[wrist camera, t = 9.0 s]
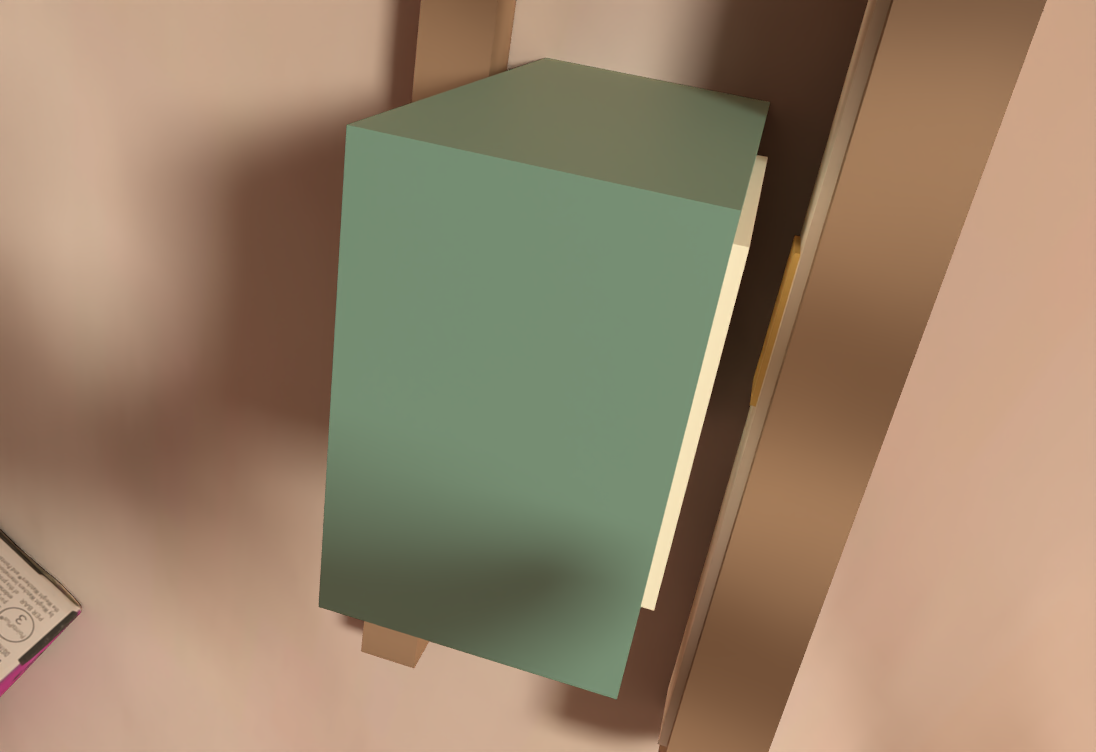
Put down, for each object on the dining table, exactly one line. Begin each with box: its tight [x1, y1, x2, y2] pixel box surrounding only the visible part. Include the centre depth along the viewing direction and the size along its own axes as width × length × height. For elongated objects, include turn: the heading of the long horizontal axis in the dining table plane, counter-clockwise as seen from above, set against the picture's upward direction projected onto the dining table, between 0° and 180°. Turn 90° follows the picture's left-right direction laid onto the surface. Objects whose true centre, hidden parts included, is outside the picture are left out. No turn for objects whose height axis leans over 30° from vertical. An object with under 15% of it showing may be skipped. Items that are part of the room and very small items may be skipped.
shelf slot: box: [361, 0, 1047, 752], centre depth 18 cm, size 24×10×4 cm, turn 170°
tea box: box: [319, 58, 770, 699], centre depth 16 cm, size 5×7×9 cm
